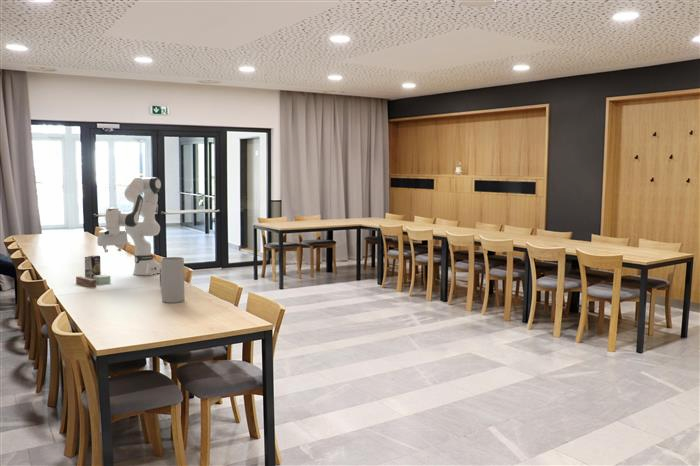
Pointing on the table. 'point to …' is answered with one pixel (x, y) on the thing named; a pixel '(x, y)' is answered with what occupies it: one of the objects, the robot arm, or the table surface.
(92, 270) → the coffee box
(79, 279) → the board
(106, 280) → the block
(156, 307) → the table surface
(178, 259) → the cylinder vase
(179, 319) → the table surface
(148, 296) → the table surface
